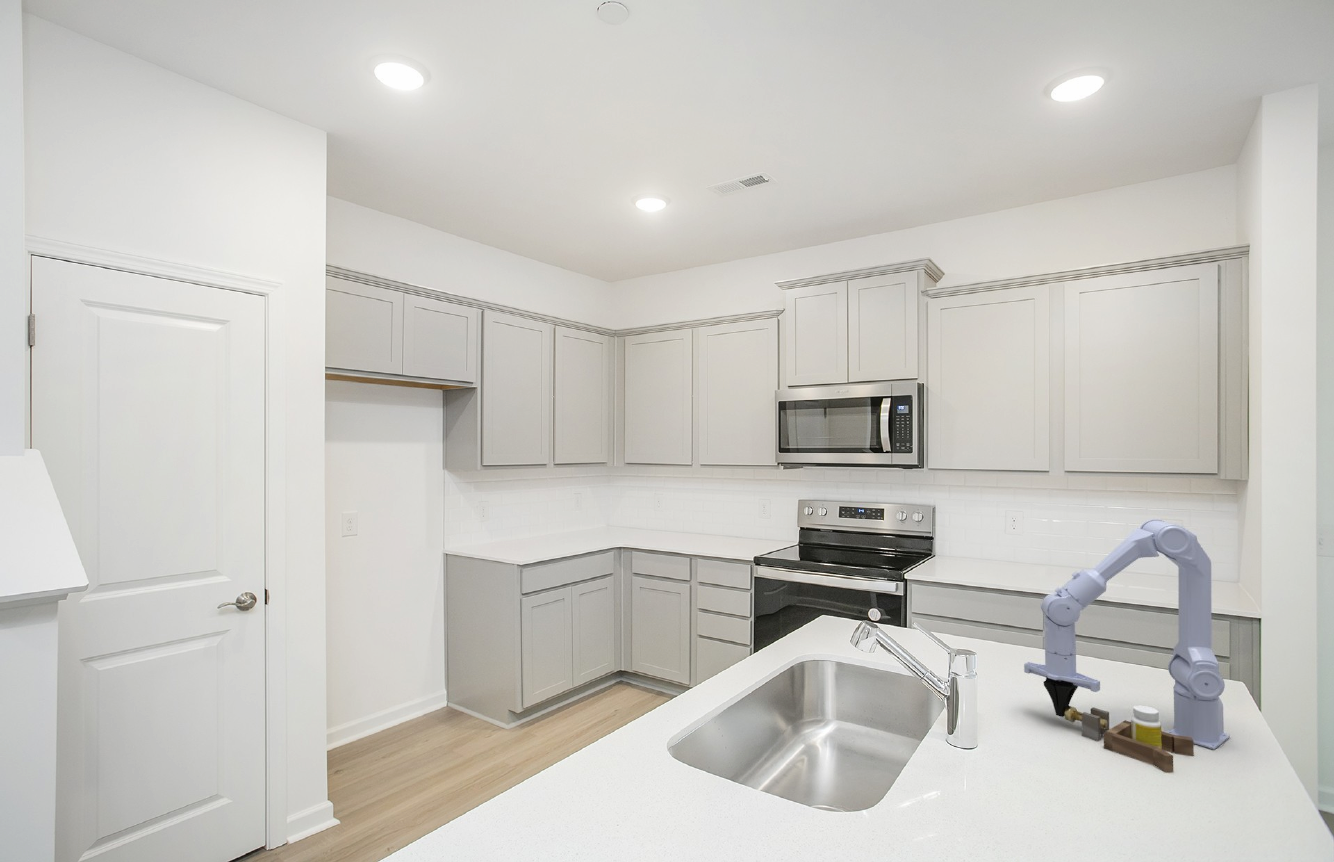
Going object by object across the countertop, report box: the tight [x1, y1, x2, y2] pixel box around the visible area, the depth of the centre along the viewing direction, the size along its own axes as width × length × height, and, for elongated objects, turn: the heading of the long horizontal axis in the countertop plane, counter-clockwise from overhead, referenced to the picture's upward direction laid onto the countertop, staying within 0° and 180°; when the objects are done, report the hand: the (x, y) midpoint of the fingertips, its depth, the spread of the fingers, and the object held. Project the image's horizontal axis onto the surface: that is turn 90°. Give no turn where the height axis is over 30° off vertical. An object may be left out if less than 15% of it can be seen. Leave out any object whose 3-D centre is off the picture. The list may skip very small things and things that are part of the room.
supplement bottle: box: [1130, 704, 1162, 749], centre depth 129 cm, size 5×5×8 cm
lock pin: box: [1064, 705, 1108, 729], centre depth 138 cm, size 3×7×3 cm, turn 35°
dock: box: [1081, 707, 1195, 773], centre depth 131 cm, size 13×16×5 cm
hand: (1061, 715), depth 142 cm, fingers closed
